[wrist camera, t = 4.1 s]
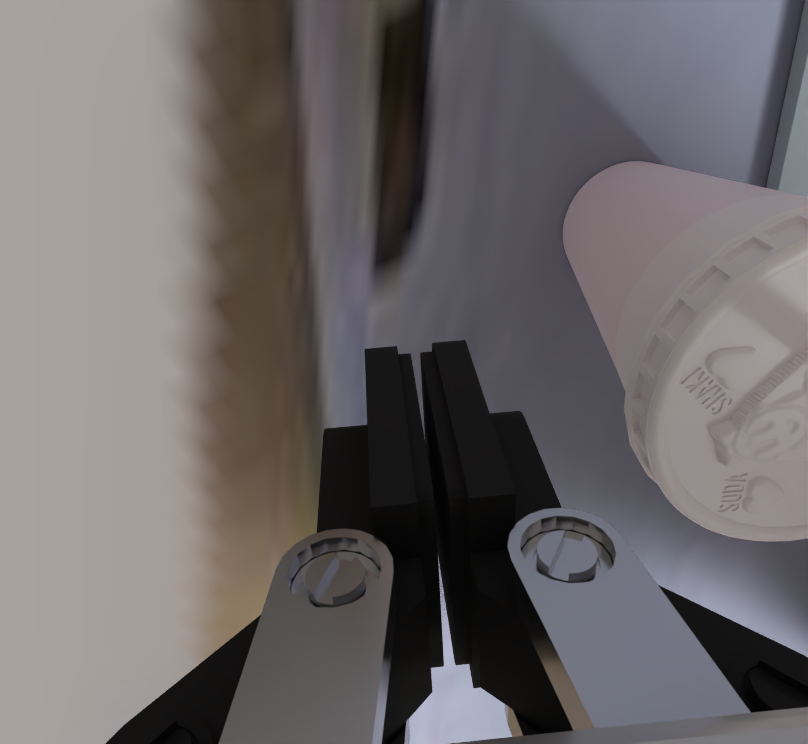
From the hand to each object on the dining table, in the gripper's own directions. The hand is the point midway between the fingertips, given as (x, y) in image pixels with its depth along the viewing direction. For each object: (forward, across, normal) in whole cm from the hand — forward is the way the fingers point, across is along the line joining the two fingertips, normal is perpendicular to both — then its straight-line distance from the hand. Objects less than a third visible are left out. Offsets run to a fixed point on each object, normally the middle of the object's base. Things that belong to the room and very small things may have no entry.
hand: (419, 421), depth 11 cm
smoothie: (+9, -7, 0) cm, 11 cm away
